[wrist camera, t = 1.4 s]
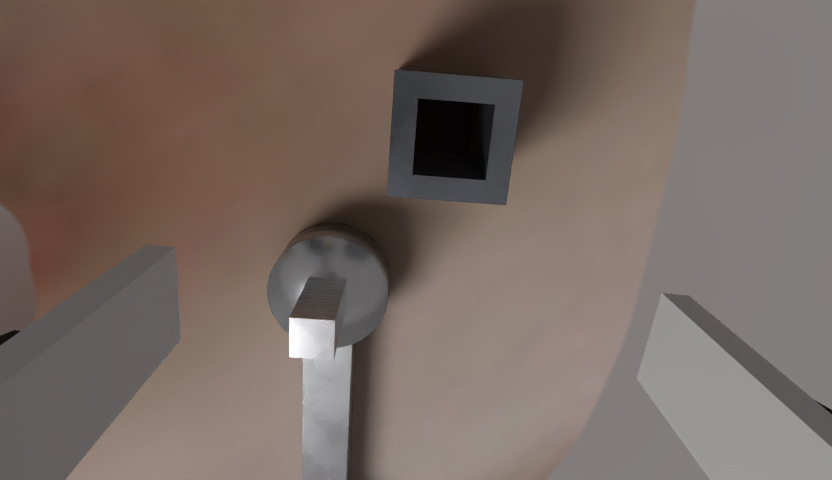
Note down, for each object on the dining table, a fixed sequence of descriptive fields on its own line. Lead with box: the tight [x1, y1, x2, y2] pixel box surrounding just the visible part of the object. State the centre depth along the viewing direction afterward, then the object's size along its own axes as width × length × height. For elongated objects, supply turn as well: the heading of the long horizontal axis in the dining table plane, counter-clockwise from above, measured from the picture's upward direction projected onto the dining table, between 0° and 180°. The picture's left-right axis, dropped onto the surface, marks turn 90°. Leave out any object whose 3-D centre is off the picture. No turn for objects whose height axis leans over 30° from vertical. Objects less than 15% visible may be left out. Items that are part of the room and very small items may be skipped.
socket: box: [387, 69, 524, 205], centre depth 26 cm, size 6×6×7 cm
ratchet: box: [267, 223, 389, 480], centre depth 32 cm, size 30×7×8 cm, turn 175°
